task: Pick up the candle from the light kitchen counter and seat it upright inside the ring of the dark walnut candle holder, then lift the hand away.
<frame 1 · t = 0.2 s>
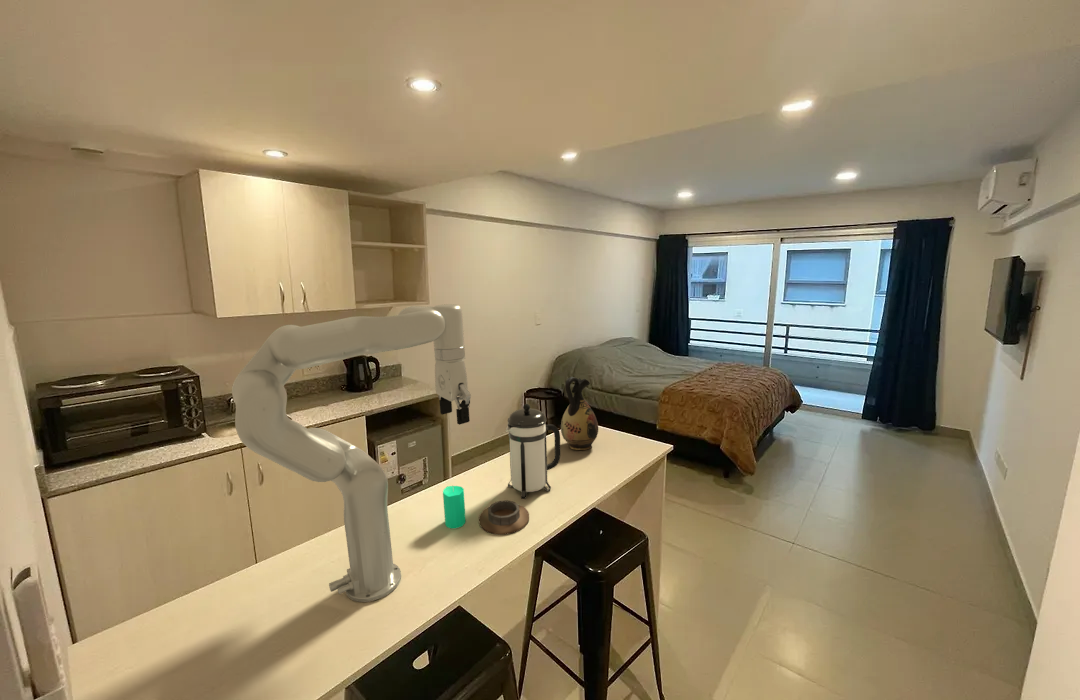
hand: (454, 417, 113), 36 cm above the worktop, tool pointing down, fingers open, 9 cm apart
candle: (455, 523, 129), on the worktop
candle holder: (504, 519, 130), on the worktop
ceramic jug: (578, 447, 181), on the worktop
coffee press: (531, 487, 149), on the worktop
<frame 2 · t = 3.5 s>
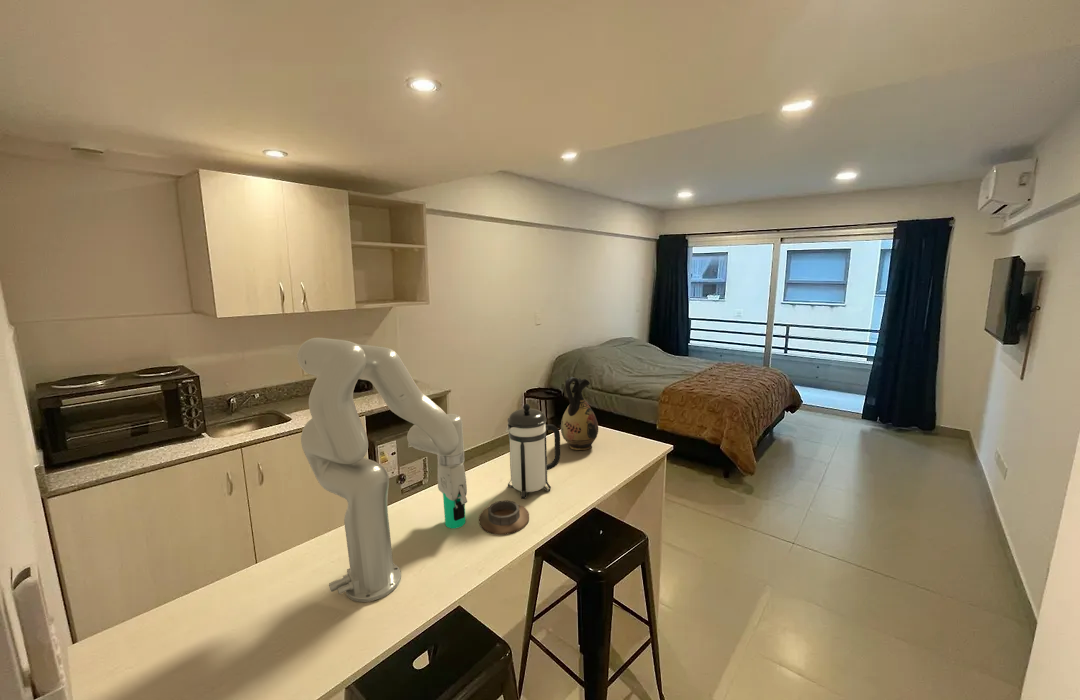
hand: (454, 513, 129), 3 cm above the worktop, tool pointing down, fingers closed on candle, 4 cm apart
candle: (455, 523, 129), on the worktop, touching gripper
everything else where it was.
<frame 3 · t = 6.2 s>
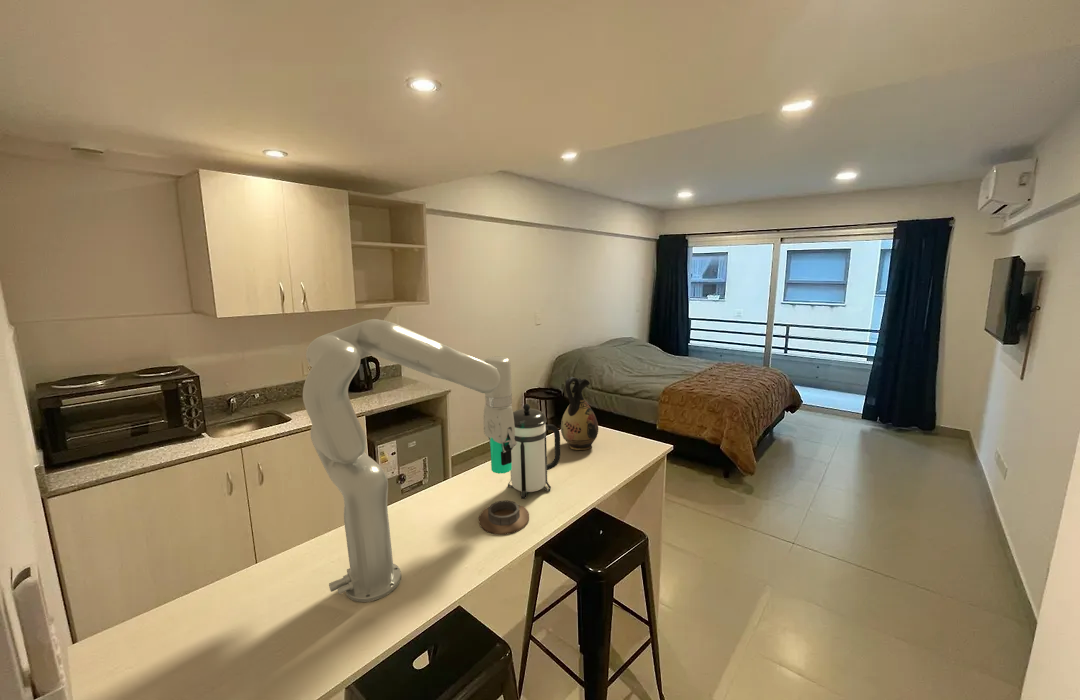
hand: (501, 459, 126), 19 cm above the worktop, tool pointing down, fingers closed on candle, 4 cm apart
candle: (501, 469, 127), point 16 cm above the worktop, touching gripper
everything else where it was.
when the fingers open (5 cm above the worktop, at t = 9.1 s): candle drops 1 cm, resting on candle holder.
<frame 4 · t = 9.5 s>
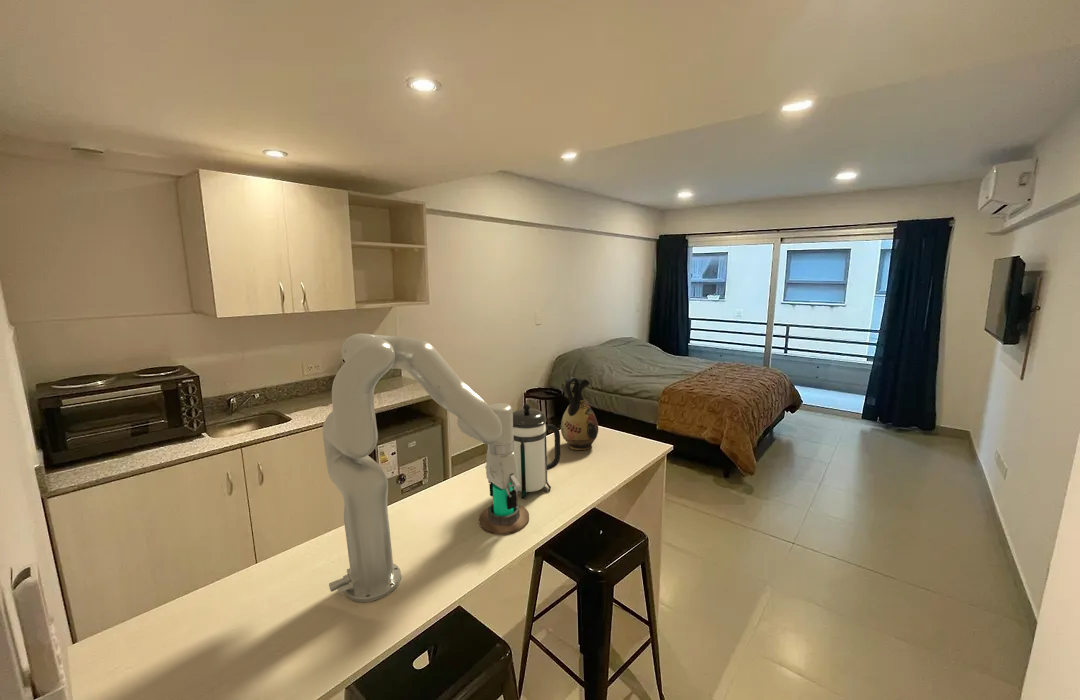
hand: (503, 500, 129), 6 cm above the worktop, tool pointing down, fingers open, 8 cm apart
candle: (504, 517, 130), point 1 cm above the worktop, touching candle holder
everything else where it was.
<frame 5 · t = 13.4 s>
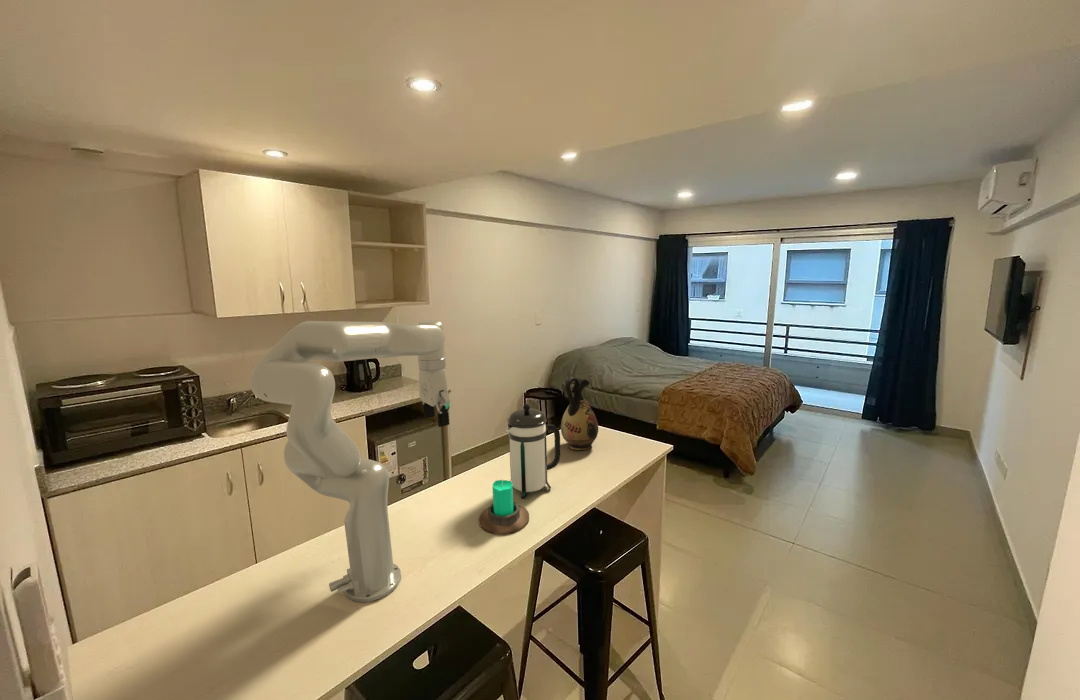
hand: (436, 421, 127), 30 cm above the worktop, tool pointing down, fingers open, 9 cm apart
nothing on the worktop moved.
at the end: candle 0.2 cm off-centre on the candle holder, point 0.8 cm above the candle holder's base; candle tilted 0°; the gripper is holding nothing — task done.
